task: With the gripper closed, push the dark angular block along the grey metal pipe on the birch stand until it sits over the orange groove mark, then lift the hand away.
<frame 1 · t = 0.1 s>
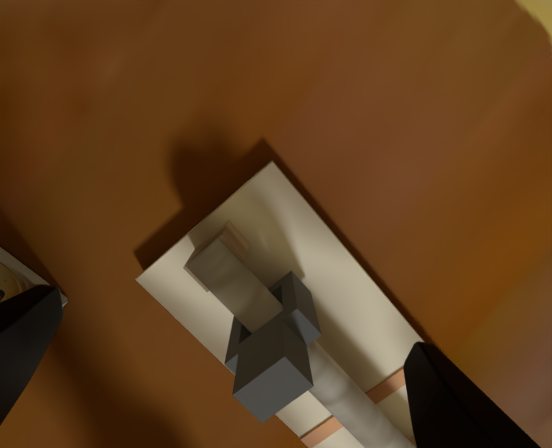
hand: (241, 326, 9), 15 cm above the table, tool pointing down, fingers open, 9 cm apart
pipe stand: (323, 343, 27), on the table
dark angular block: (272, 338, 19), point 6 cm above the table, slide at 0.0 cm
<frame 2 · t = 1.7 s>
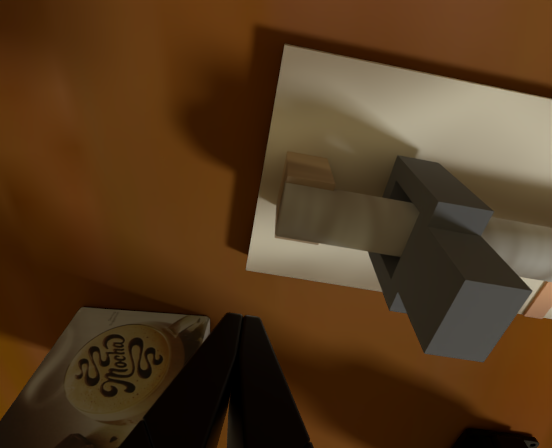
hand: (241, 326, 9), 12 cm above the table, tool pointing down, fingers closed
pipe stand: (489, 206, 20), on the table
coffee box: (151, 339, 26), on the table
dark angular block: (427, 250, 14), point 6 cm above the table, slide at 0.0 cm
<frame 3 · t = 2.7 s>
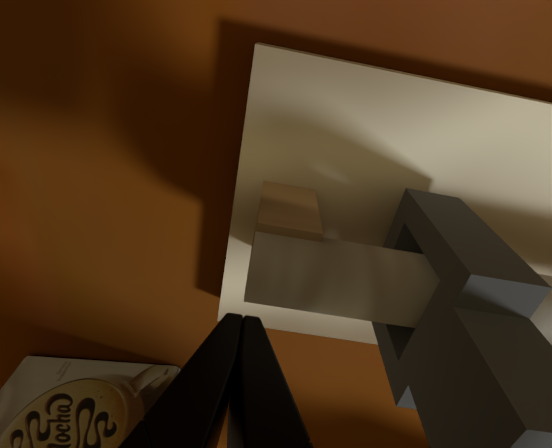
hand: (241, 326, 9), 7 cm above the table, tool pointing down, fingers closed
pipe stand: (517, 244, 16), on the table
coffee box: (113, 389, 22), on the table
dark angular block: (449, 326, 10), point 6 cm above the table, slide at 0.0 cm
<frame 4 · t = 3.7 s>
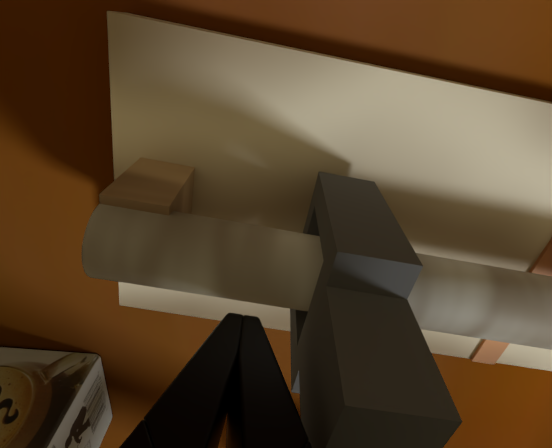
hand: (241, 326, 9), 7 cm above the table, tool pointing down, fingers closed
pipe stand: (422, 227, 16), on the table
coffee box: (38, 378, 22), on the table
dark angular block: (343, 309, 10), point 6 cm above the table, slide at 1.4 cm, touching gripper
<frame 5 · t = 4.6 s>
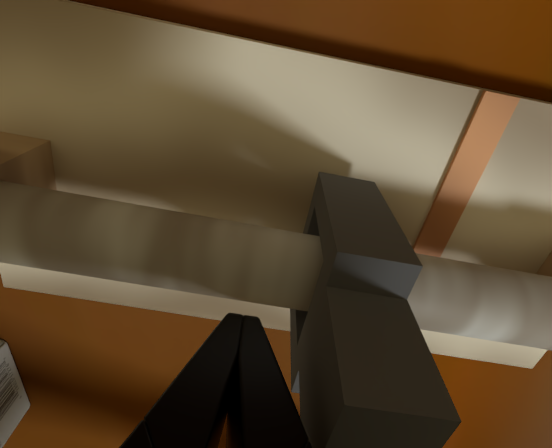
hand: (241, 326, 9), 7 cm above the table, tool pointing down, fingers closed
pipe stand: (308, 207, 15), on the table
dark angular block: (343, 309, 10), point 6 cm above the table, slide at 6.7 cm, touching gripper
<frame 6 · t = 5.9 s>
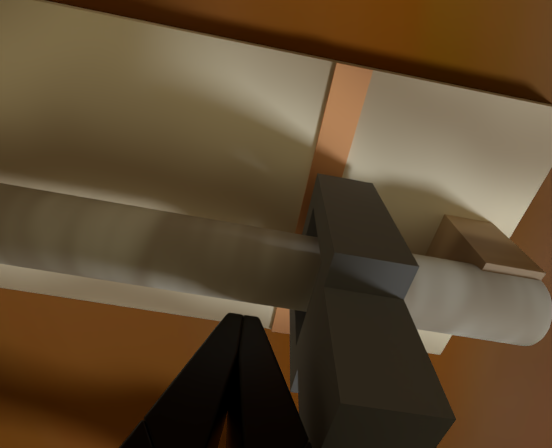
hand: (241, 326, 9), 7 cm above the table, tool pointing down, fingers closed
pipe stand: (196, 188, 15), on the table
dark angular block: (341, 310, 10), point 6 cm above the table, slide at 11.6 cm, touching gripper
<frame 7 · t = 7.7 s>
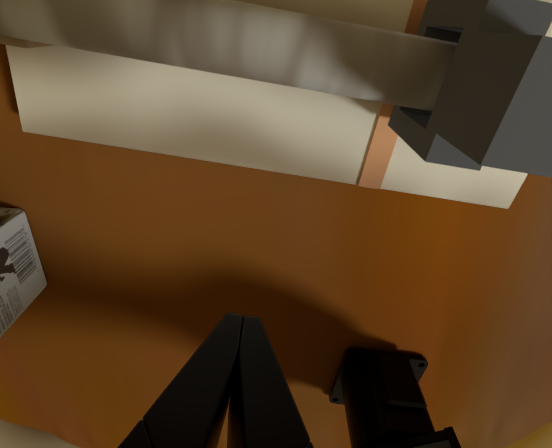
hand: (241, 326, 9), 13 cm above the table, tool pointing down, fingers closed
pipe stand: (297, 44, 17), on the table
dark angular block: (470, 86, 12), point 6 cm above the table, slide at 11.7 cm
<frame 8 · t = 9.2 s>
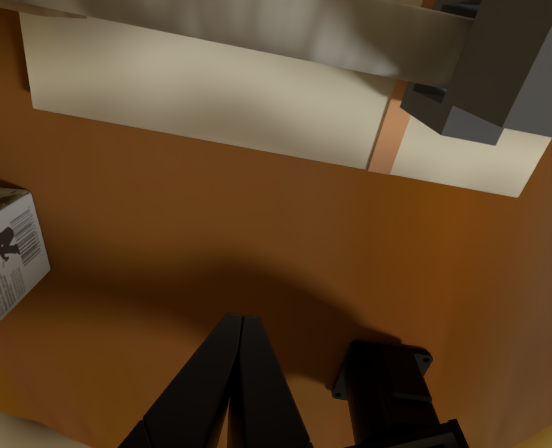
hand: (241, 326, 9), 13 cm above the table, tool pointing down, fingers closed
pipe stand: (310, 27, 17), on the table
dark angular block: (487, 60, 12), point 6 cm above the table, slide at 11.7 cm
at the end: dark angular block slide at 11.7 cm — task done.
